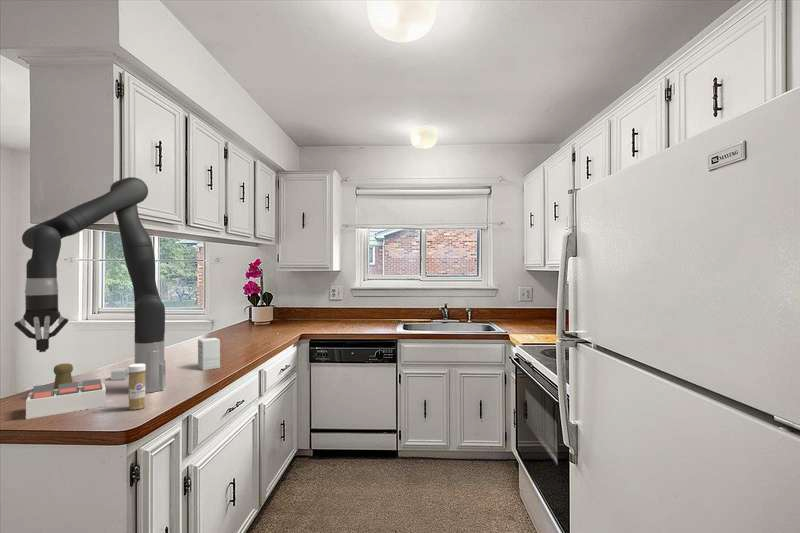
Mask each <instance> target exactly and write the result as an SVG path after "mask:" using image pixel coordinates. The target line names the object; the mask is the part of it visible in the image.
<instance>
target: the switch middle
mask: <svg viewBox="0 0 800 533" xmlns="http://www.w3.org/2000/svg"><path fill="white" fill-rule="evenodd" d="M78 387H79V381H74V382H73V381H72V383H65V384H59V386H58V396H59V395H66V394H73V393H78Z"/></svg>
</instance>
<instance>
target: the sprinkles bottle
mask: <svg viewBox="0 0 800 533" xmlns="http://www.w3.org/2000/svg"><path fill="white" fill-rule="evenodd" d="M127 368H128V372H129V375H128V410H130V411H137V410H142V409H144V408H145V407H146V393H145V370H146V365H145V364H135V363H134V364H129V365H128V367H127Z"/></svg>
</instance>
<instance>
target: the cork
mask: <svg viewBox="0 0 800 533" xmlns="http://www.w3.org/2000/svg"><path fill="white" fill-rule="evenodd" d="M73 371H74V366H73V364H72V363H59V364H56V365H55V366H54V367H53V374H54V375H55V378H54V383H53V384H54V390H56V389H58V386H59V384H65V383H73V379H72V372H73Z"/></svg>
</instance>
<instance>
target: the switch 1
mask: <svg viewBox="0 0 800 533" xmlns="http://www.w3.org/2000/svg"><path fill="white" fill-rule="evenodd" d="M32 387H33V388H32V392H31V393H32V399H37V398H44V397H51V396H53V391H54V383H49V384H41V385H34V386H32Z"/></svg>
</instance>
